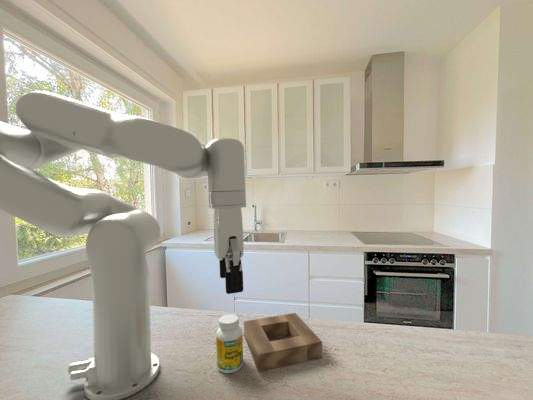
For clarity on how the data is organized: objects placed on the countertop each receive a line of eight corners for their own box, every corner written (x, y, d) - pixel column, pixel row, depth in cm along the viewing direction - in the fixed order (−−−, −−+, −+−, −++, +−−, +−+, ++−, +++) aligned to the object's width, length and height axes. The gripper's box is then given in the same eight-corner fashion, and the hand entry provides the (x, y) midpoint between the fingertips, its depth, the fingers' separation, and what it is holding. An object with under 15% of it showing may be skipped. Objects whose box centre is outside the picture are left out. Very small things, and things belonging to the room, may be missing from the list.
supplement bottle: (236, 353, 55) (235, 310, 55) (247, 367, 50) (247, 319, 50) (212, 363, 52) (211, 317, 52) (223, 378, 47) (222, 328, 47)
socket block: (258, 372, 49) (258, 354, 49) (244, 335, 62) (243, 321, 62) (322, 357, 53) (322, 341, 53) (295, 326, 66) (295, 312, 66)
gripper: (206, 201, 58) (209, 274, 58) (212, 201, 42) (216, 303, 42) (238, 200, 60) (240, 270, 60) (255, 200, 44) (259, 296, 44)
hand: (230, 284), depth 51 cm, fingers open, 9 cm apart
